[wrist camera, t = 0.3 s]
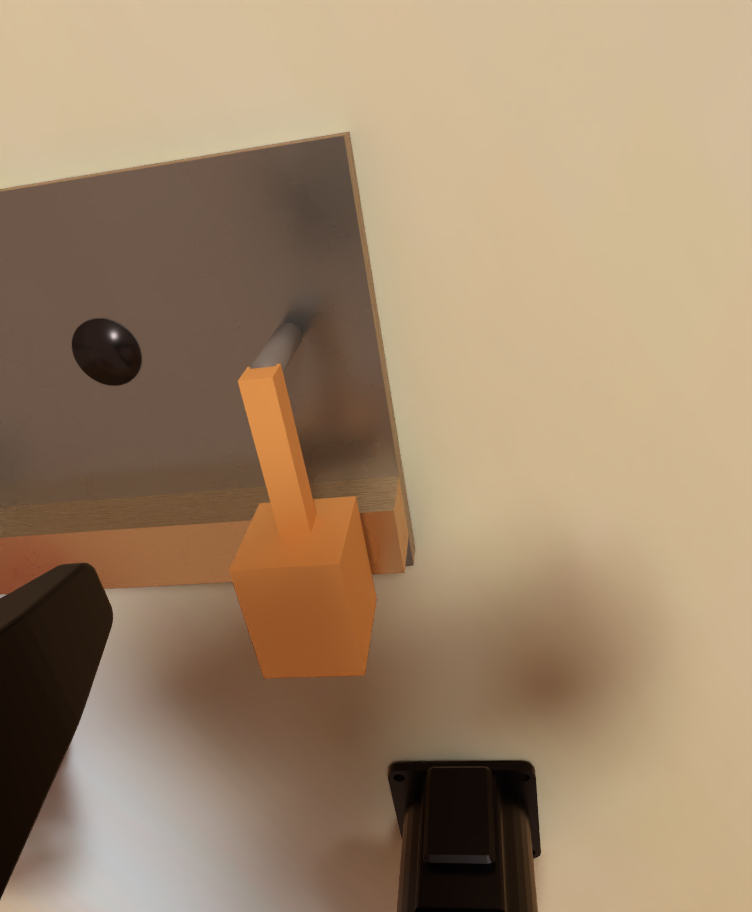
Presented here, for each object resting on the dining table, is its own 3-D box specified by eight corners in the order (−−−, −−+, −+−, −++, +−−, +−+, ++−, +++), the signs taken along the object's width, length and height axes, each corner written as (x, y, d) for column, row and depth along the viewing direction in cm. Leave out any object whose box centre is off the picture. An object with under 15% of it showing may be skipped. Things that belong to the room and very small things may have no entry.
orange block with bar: (382, 562, 24) (364, 675, 20) (299, 567, 25) (263, 678, 20) (335, 316, 20) (300, 390, 15) (236, 328, 20) (174, 402, 16)
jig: (415, 548, 25) (402, 678, 20) (-84, 577, 29) (-209, 695, 24) (349, 132, 19) (304, 160, 13) (-290, 236, 22) (-528, 292, 17)
